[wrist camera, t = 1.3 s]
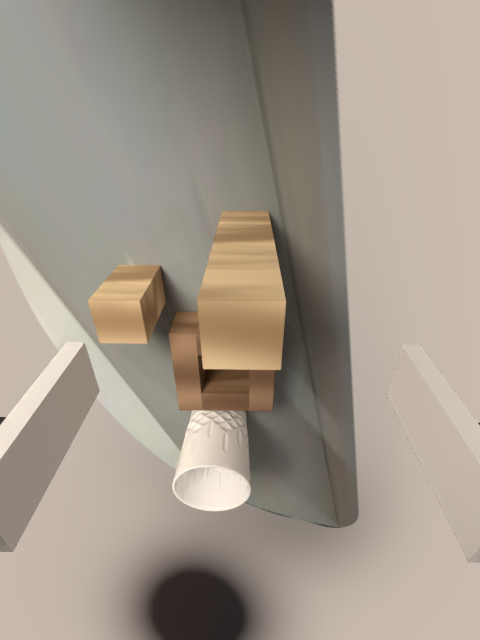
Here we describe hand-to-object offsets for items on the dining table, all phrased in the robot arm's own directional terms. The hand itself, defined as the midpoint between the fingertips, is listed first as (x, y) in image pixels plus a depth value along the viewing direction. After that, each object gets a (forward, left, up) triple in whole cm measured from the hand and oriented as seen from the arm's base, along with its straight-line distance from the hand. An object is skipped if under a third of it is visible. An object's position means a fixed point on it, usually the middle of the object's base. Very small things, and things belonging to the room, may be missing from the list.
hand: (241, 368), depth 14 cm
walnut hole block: (+13, -2, -18) cm, 22 cm away
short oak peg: (+5, -10, -18) cm, 21 cm away
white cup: (+23, -3, -18) cm, 29 cm away
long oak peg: (0, 0, -18) cm, 18 cm away
